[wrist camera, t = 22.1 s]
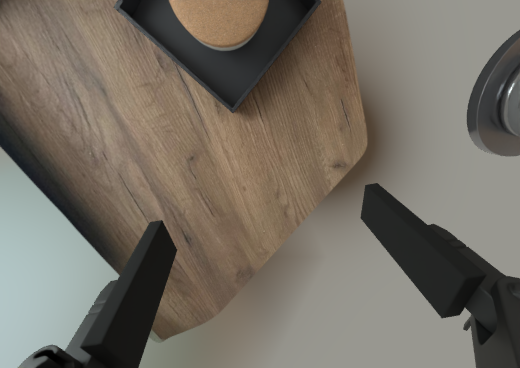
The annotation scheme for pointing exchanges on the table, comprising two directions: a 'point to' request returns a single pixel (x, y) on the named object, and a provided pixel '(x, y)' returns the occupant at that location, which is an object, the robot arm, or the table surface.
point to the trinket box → (221, 20)
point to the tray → (214, 61)
